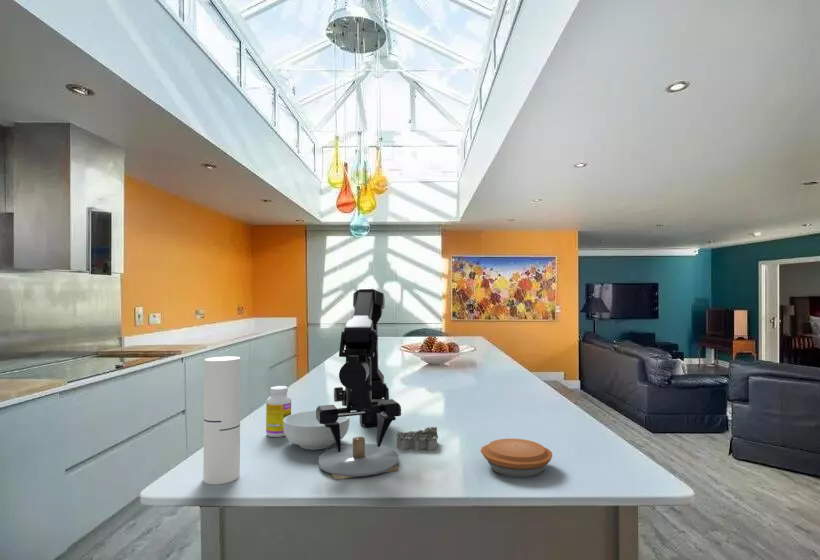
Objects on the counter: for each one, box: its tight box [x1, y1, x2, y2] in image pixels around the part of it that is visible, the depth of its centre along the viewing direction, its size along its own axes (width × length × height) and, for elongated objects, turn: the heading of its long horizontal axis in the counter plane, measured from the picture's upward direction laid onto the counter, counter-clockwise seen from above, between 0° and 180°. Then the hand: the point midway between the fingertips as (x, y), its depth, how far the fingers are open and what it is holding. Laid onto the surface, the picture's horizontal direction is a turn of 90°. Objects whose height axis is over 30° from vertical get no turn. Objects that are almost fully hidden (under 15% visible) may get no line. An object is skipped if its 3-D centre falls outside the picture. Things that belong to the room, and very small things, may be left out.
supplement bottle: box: [265, 385, 292, 438], centre depth 128 cm, size 7×7×13 cm
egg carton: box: [396, 426, 439, 451], centre depth 118 cm, size 11×8×4 cm
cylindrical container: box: [202, 355, 241, 485], centre depth 98 cm, size 7×7×25 cm
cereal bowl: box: [283, 410, 350, 451], centre depth 119 cm, size 17×17×7 cm
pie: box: [480, 438, 553, 478], centre depth 103 cm, size 15×16×5 cm
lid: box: [318, 436, 399, 477], centre depth 106 cm, size 18×18×5 cm
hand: (359, 449), depth 105 cm, fingers open, 9 cm apart
